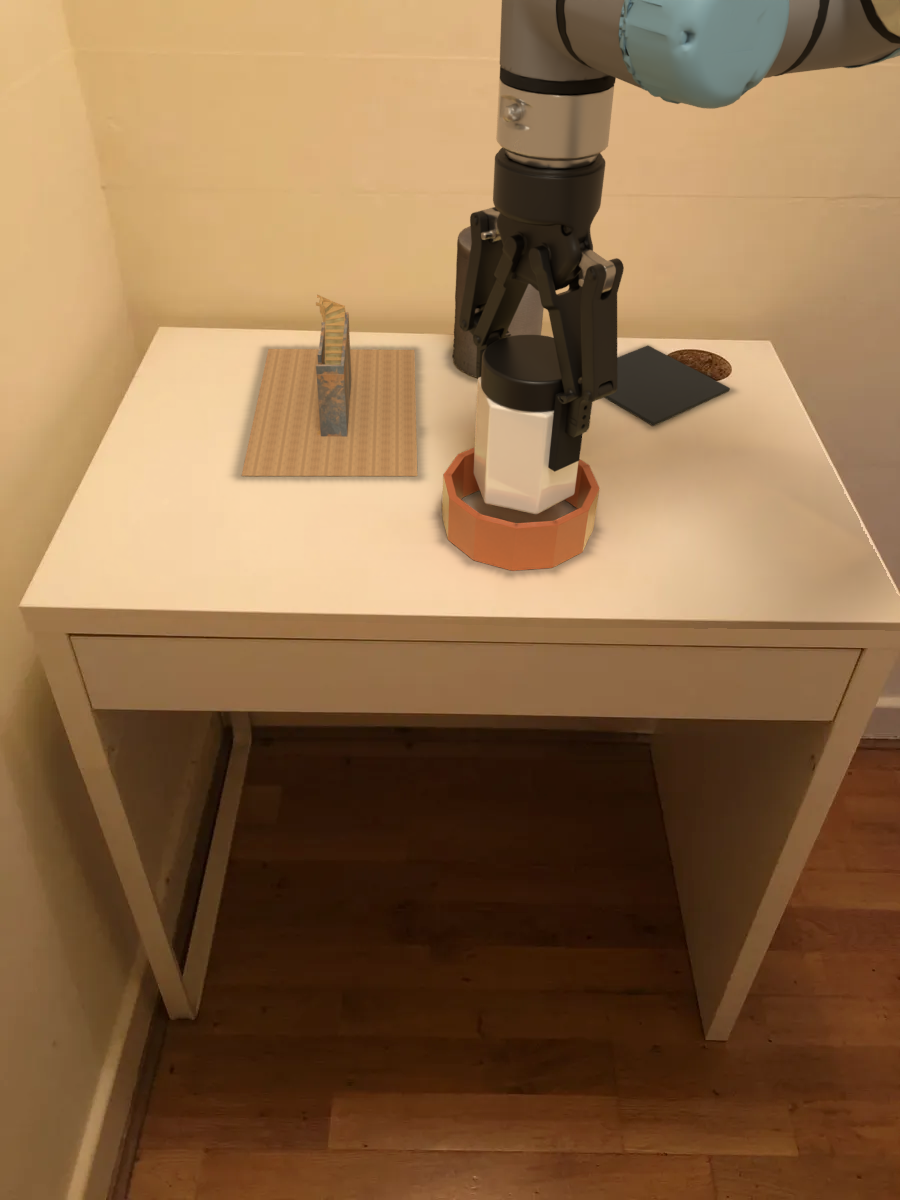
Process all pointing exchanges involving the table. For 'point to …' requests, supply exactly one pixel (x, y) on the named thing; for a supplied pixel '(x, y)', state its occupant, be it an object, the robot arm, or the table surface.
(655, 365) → the mat
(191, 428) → the table surface
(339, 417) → the ruin model on sheet
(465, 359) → the pillar candle
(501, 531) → the ring
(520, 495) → the jar
